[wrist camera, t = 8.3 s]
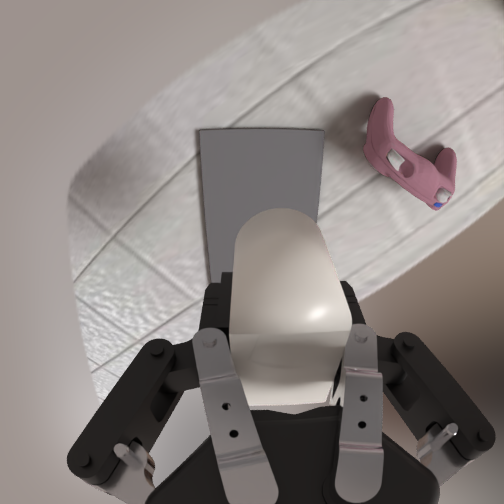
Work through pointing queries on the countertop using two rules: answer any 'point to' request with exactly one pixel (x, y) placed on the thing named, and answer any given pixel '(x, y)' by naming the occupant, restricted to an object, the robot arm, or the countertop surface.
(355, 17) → the countertop surface
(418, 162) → the video game controller
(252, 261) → the plug block
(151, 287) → the countertop surface
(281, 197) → the rubber mat
